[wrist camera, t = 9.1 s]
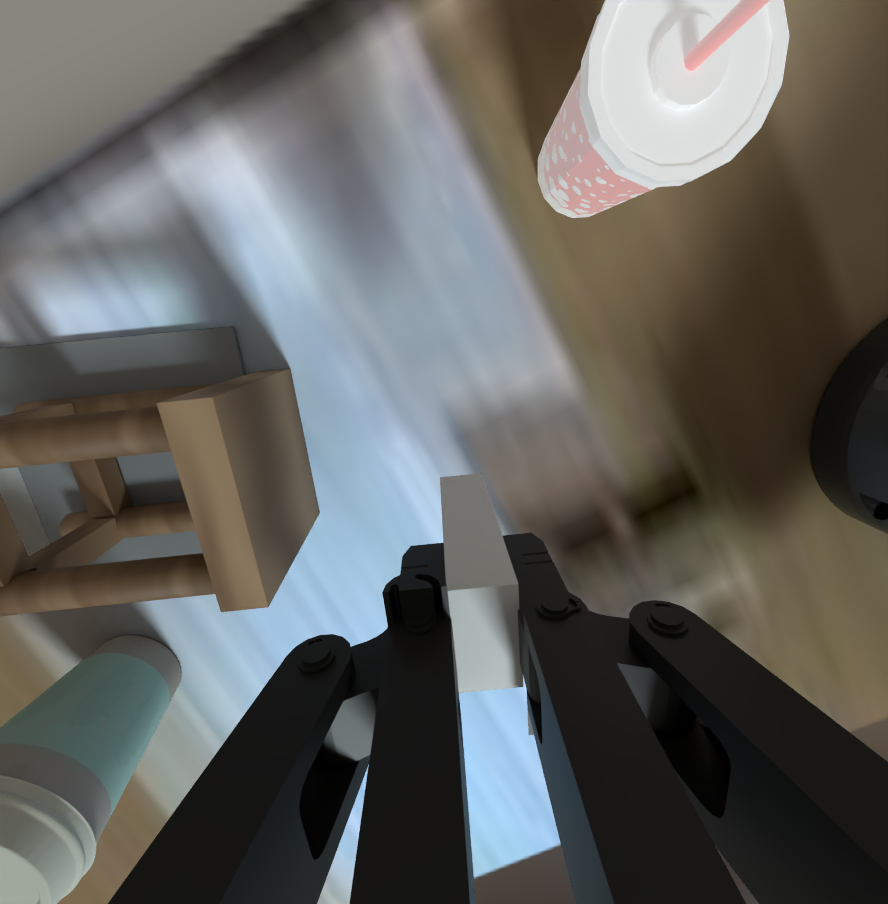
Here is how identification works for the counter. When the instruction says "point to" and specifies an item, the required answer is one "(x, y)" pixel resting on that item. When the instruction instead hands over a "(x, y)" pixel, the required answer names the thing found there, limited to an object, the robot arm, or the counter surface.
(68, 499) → the mat
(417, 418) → the counter surface
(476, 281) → the counter surface
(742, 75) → the beverage cup
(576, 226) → the counter surface
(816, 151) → the counter surface
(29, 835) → the coffee cup
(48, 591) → the stool
